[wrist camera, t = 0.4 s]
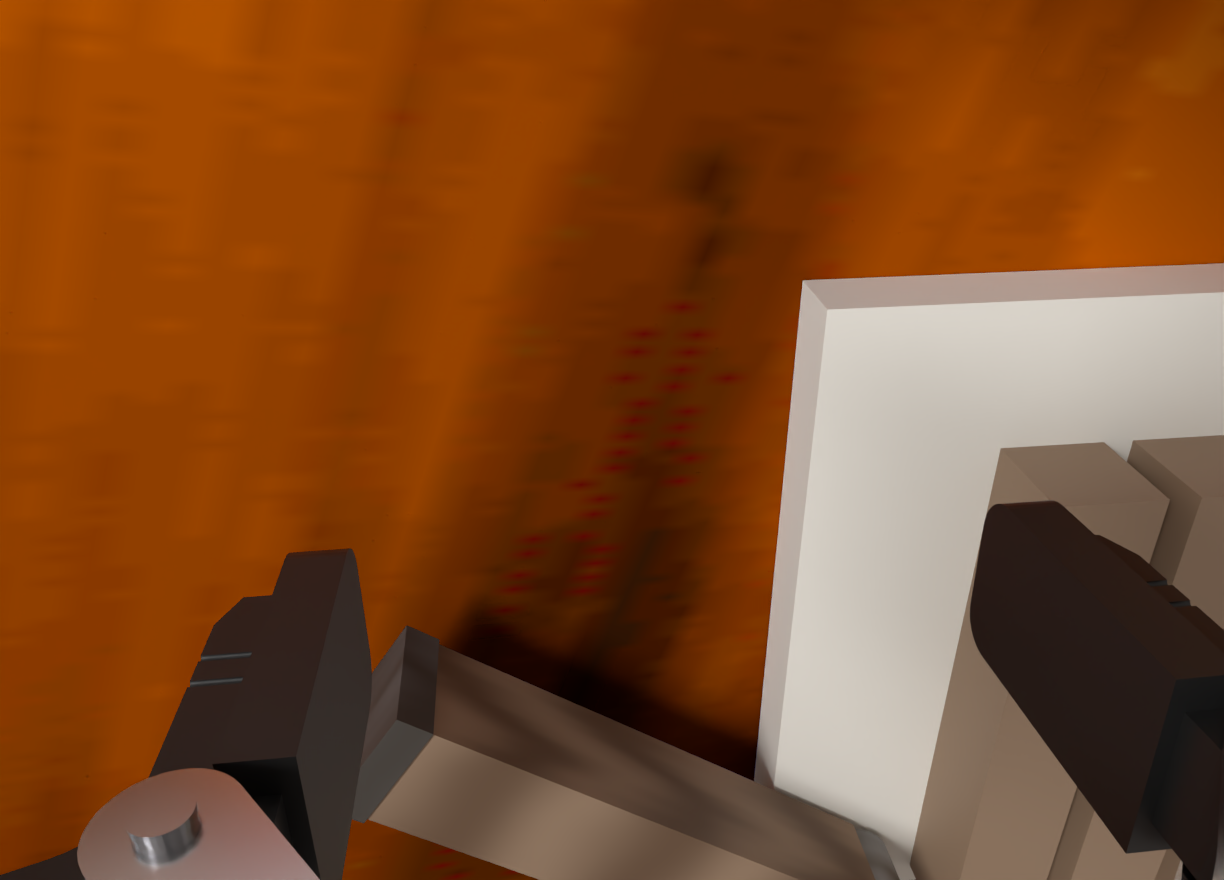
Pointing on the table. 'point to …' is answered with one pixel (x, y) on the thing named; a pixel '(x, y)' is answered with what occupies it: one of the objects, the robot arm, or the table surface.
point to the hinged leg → (574, 786)
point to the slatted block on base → (974, 540)
